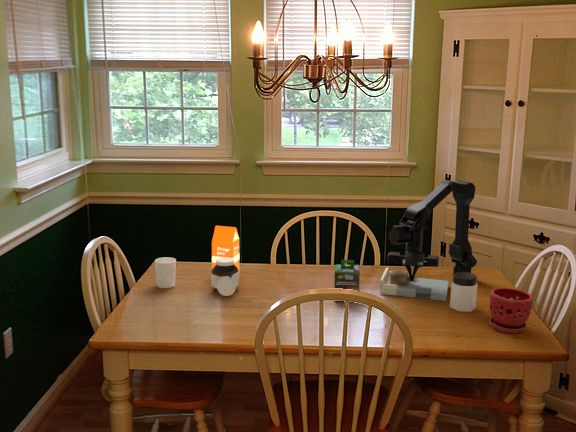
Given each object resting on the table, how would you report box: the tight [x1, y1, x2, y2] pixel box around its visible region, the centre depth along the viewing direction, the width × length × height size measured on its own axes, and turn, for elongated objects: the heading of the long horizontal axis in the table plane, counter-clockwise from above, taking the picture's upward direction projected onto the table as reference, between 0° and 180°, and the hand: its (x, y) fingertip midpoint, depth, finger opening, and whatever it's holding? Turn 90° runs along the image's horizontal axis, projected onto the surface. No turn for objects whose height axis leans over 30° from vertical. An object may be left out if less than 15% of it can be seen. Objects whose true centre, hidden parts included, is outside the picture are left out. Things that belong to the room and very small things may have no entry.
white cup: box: [154, 256, 177, 289], centre depth 255 cm, size 8×8×10 cm
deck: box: [379, 266, 449, 302], centre depth 255 cm, size 24×16×6 cm, turn 74°
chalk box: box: [333, 259, 361, 303], centre depth 245 cm, size 9×9×15 cm
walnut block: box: [390, 269, 408, 286], centre depth 256 cm, size 6×6×4 cm
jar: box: [449, 272, 478, 313], centre depth 237 cm, size 9×8×12 cm
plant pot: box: [489, 287, 534, 334], centre depth 220 cm, size 13×13×12 cm
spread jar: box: [210, 257, 240, 297], centre depth 250 cm, size 12×11×12 cm
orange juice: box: [211, 225, 241, 271], centre depth 268 cm, size 8×9×20 cm
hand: (411, 281), depth 255 cm, fingers closed
